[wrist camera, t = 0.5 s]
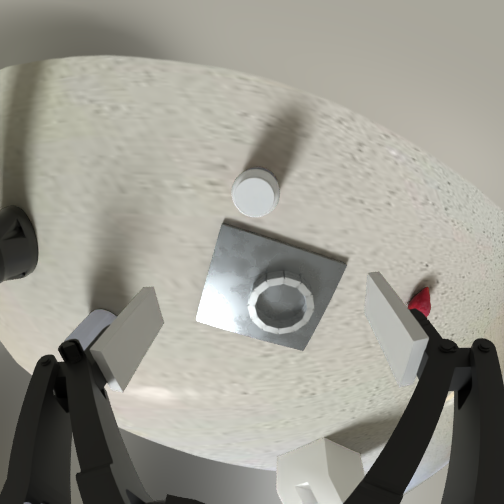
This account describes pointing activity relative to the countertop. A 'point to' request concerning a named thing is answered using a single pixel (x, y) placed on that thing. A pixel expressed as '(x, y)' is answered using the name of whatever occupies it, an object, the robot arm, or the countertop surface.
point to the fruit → (421, 302)
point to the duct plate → (267, 288)
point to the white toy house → (318, 473)
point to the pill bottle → (256, 192)
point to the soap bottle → (91, 327)
